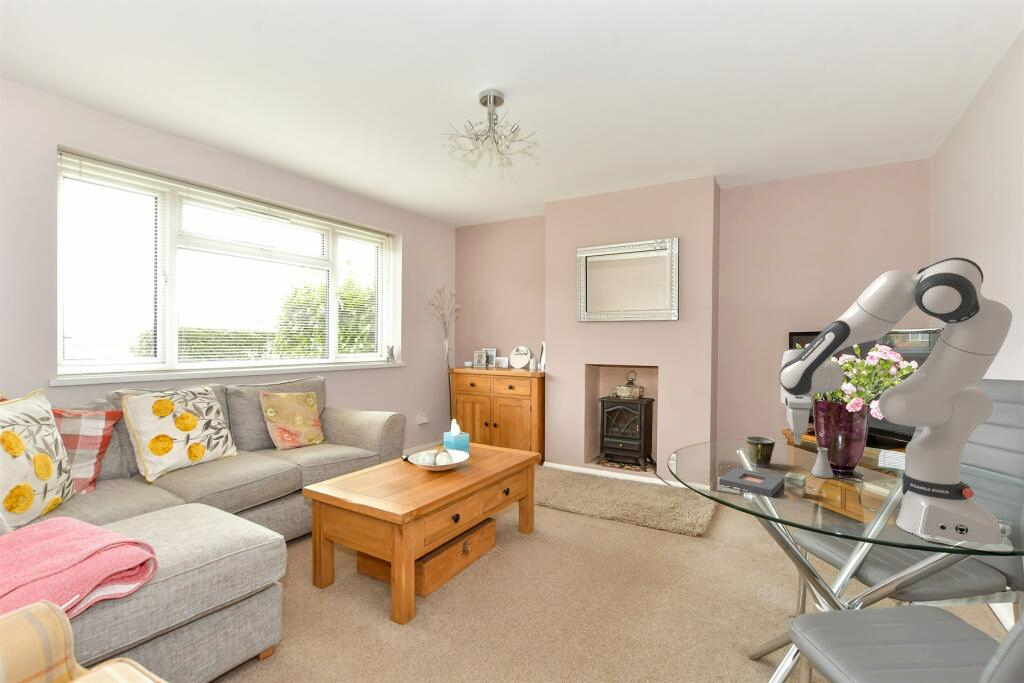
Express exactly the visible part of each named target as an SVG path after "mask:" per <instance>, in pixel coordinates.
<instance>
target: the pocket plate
mask: <svg viewBox="0 0 1024 683" xmlns="http://www.w3.org/2000/svg"><path fill="white" fill-rule="evenodd" d="M718 485H724V486H730V487H737V488H740V489H745V490H748V491H751V492H754V493H759V494H762V495H761V496H763V495H764V496H763V497H769V498H772V497H773V496H774V495H775V494H776V493H777V492H778V491H779V490H780V489H781V488H782V487H783V486H785V476H780V475H775V474H771V473H765V472H758V471H754V470H749V469H744V468H740V467H734V468H732V469H731V470H729V471H728V472H727V473H725V474H724V475H723V476H721V477H720V478H719V484H718ZM754 493H753V494H754ZM759 494H758V495H759Z"/></svg>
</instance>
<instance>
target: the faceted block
mask: <svg viewBox="0 0 1024 683" xmlns="http://www.w3.org/2000/svg"><path fill="white" fill-rule="evenodd" d="M806 494H807V475H804V474H799V473H793V472H787V473H786V474H785V475H784V495H785V496H789V497H793V498H794V497H795V498H798V499H799V498H800V499H803V498H804V496H806Z"/></svg>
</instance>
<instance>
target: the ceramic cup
mask: <svg viewBox="0 0 1024 683" xmlns="http://www.w3.org/2000/svg"><path fill="white" fill-rule="evenodd" d="M745 440H746V447H747V451H748V457H749V462H750V465H751V464H752V465H751V466H753V465H754V466H753V467H756V468H762V469H763V468H769V467H770V465H771V461H772V458H773V457H772V456H773V452H774V448H775V446H776V445H775V444H776V440H775V439H773V438H770V437H766V436H753V435H752V436H751V435H750V436H747V437H745Z"/></svg>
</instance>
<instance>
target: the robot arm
mask: <svg viewBox="0 0 1024 683" xmlns="http://www.w3.org/2000/svg"><path fill="white" fill-rule="evenodd" d="M983 281H984V272H983V270H982V269H981V267H980V266H979V265H978V263H976V262H974V261H973V260H971V259H969V258H965V257H950V258H946V259H942V260H939V261H937V262H935V263H932V264H930V265H927V266H926V267H923V268H921V269H919V270H918V271H917V273H916V274H913V273H910V272H908V271H905V270H901V269H900V270H899V269H893V270H887V271H885V272H883V273H881V274H880V275H879V276H878V277H877V278H876V279H874V280H873V281H872V282H871V283H870V284H869V285H868V286H867V287H866V288H865V289H864V291H862V293H861V294H860V295H859V296H858V298H856V300H855V301H854V302H853V304H851V306H850V307H849V308H848V309H846V311H844V312H843V313H842V314H841V315H840V316H839V317H838V318H837V319H835V320H834V321H833V322H831V323H830V324H828V326H826V327H825V328H824V329H822V331H821V332H820V333H819V334H818V335H817V336H816V337H815V338H814V339H813V340H812V341H811V342H810V343H809V344H808V345H807V346H806V347H797V348H796V347H795V348H789V349H786V350H785V351H784V352H783V356H782V359H781V360H782V361H781V369H780V372H779V378H778V379H779V383H780V385H781V386H780V403H782V404H784V408H785V409H786V413H785V414H786V416H785V417H786V421H787V422H788V425H789V431H790V432H789V433H790V437H791V438H793V444H794V445H795V446H801V444H802V439H803V438H802V437H803V434H806V433H807V431H808V428H809V419H810V410H811V409H812V408H813V401H814V399H813V398H814V394H820V393H821V394H822V393H831V392H834V391H837V390H839V389H841V387H842V386H843V384H844V383H845V372H844V369H843V368H842V366H841V365H840V364H839V363H837V362H835V361H832V360H830V359H831V358H832V357H833V356H834V355H835V354H837V353H838V352H840V351H842V350H844V349H846V348H849V347H852V346H856V345H859V344H863V343H868V342H872V341H876V340H880V339H881V338H883V337H884V336H885V335H887V334H889V333H890V332H892V330H894V328H895V327H897V325H898V324H899V323H900V322H901V321H902V319H904V318H905V316H906V315H907V314H908V313H909V312H910V311H911V310H912V309H914V308H916V307H918V309H919V310H920V311H922V312H923V313H924V314H926V315H928V316H930V317H933V318H935V319H938V320H940V321H942V322H943V323H946V324H945V326H944V328H943V329H942V331H941V333H940V335H939V337H938V339H937V341H936V343H935V344H934V346H933V348H932V350H931V352H930V354H929V355H928V357H927V358H926V360H925V361H924V362H923V363H922V365H920V366H919V367H918V368H917V369H916V370H915V371H914V372H913V373H911V374H910V375H909V376H908V377H907V378H905V379H904V380H902V381H900V382H899V383H897V384H895V385H893V386H891V387H888V388H886V389H885V390H883V391H882V393H881V394H880V396H879V399H878V409H879V412H880V413H881V415H882V417H883V418H884V419H885V420H886V421H887V422H888V423H891V424H896V425H900V426H906V427H914V428H915V427H924V428H923V430H922V431H921V433H920V434H919V435H918V436H917V437H915V438H914V439H912V440H910V441H909V442H908V443H907V444H906V446H905V453H904V454H905V457H904V460H905V461H904V472H903V474H902V477H901V492H902V501H901V504H900V509H899V513H898V515H897V518H896V521H895V524H896V525H897V526H898V527H899V528H900V529H902V530H903V531H906V532H908V533H910V534H912V533H913V535H915V534H916V535H915V536H917V535H918V536H920V537H922V538H925V539H929V540H935V541H947V542H953V543H955V542H963V541H968V542H978V543H985V544H997V545H998V544H1002V543H1003V542H1004V541H1007V538H1003V537H1008V536H1006V534H1004V533H1002V530H1001V527H1000V522H999V521H998V519H997V518H996V516H995V515H994V514H993V513H992V512H990V511H989V510H988V509H986V508H984V507H983V506H982V505H981V504H979V503H978V502H977V501H975V500H973V499H972V497H974V490H972V489H971V488H972V487H971V486H969V484H968V483H965V482H963V481H961V468H962V460H963V459H962V458H963V452H964V449H965V447H966V444H967V442H968V441H969V439H970V438H971V436H972V435H973V433H974V431H976V429H977V428H978V427H979V426H981V425H982V424H984V423H985V422H987V421H988V420H989V419H990V417H991V416H992V414H993V410H994V404H993V401H992V399H991V397H990V395H989V394H988V393H987V392H986V391H984V390H983V389H981V388H979V387H974V386H972V385H974V384H976V383H978V382H980V381H981V380H982V379H983V378H984V377H985V376H986V374H987V372H988V370H989V369H990V367H991V365H992V363H993V362H994V361H995V359H996V357H997V355H999V352H1000V350H1001V349H1002V347H1003V346H1004V343H1005V341H1006V339H1007V336H1008V334H1009V331H1010V328H1011V325H1012V323H1013V322H1012V321H1013V312H1012V311H1011V309H1010V308H1009V307H1008V306H1006V305H1005V304H1003V303H1001V302H999V301H996V300H992V299H988V298H987V297H985V296H984V295H983V294H982V285H983V283H984V282H983ZM918 536H917V537H918ZM920 537H919V538H920Z"/></svg>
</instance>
